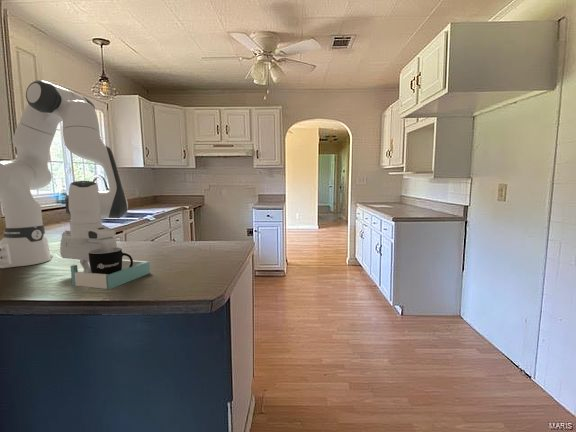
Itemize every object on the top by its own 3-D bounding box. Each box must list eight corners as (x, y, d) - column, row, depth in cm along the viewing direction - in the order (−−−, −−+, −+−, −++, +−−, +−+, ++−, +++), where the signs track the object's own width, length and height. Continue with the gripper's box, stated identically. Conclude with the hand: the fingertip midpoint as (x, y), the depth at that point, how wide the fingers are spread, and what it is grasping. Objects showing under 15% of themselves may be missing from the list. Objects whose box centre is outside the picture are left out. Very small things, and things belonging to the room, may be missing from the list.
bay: (72, 285, 98) (70, 265, 98) (116, 270, 115) (115, 253, 114) (109, 289, 94) (107, 269, 94) (150, 273, 111) (149, 255, 110)
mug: (92, 288, 95) (90, 254, 94) (89, 281, 102) (86, 249, 101) (137, 280, 102) (135, 249, 101) (130, 274, 109) (129, 244, 108)
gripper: (53, 231, 106) (56, 272, 107) (103, 234, 100) (106, 278, 101) (70, 228, 112) (73, 268, 113) (119, 231, 106) (122, 272, 107)
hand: (89, 272), depth 107 cm, fingers closed
